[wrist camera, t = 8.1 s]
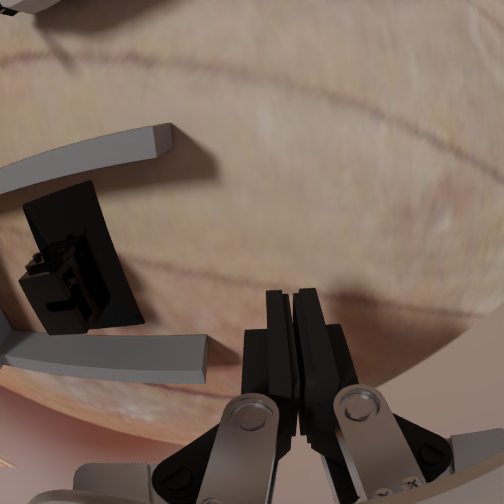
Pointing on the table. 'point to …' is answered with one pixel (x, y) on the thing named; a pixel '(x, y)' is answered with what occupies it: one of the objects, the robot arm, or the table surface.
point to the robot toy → (24, 6)
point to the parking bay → (94, 346)
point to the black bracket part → (75, 266)
